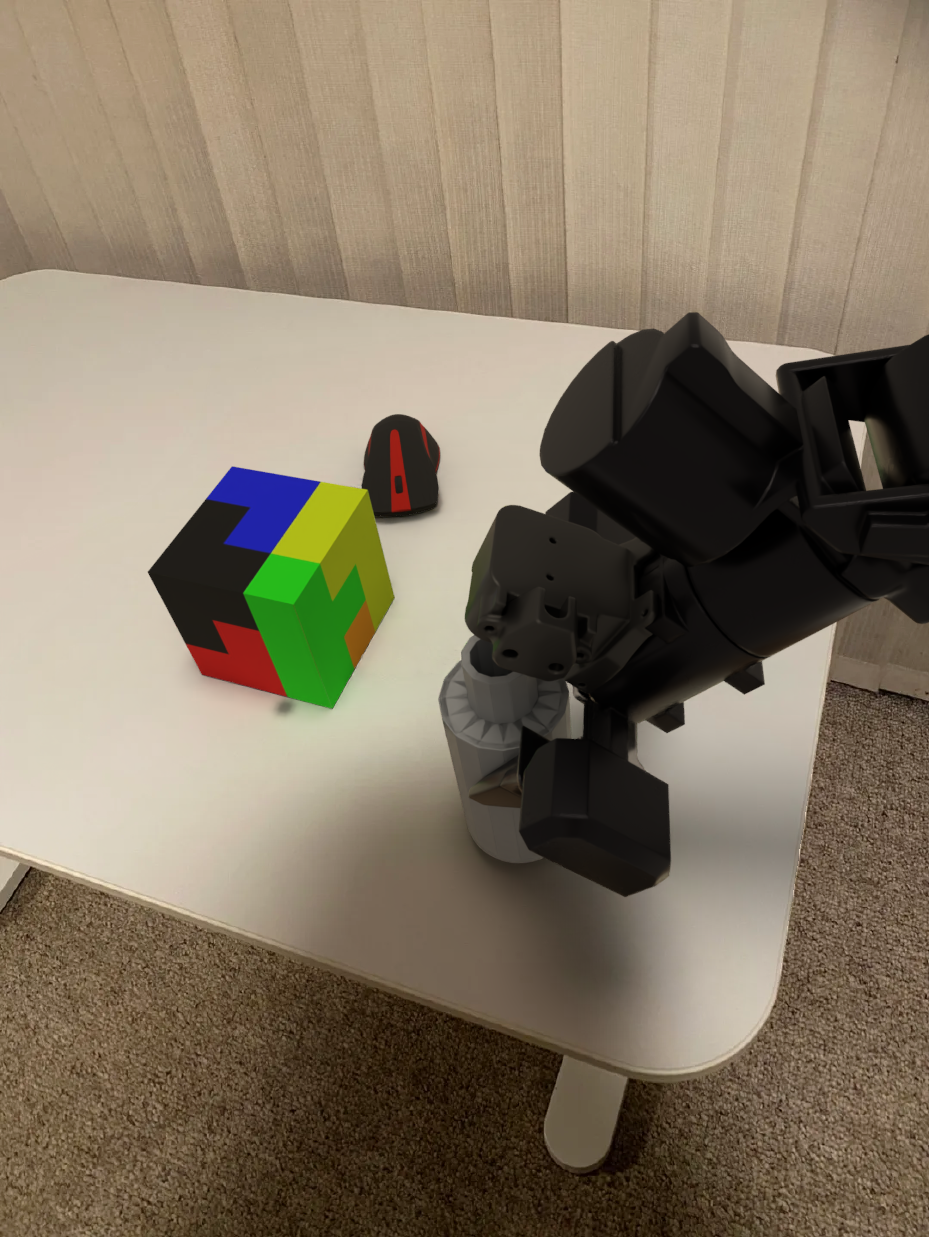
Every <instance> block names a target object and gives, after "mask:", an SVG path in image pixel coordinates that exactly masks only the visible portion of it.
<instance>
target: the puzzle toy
mask: <svg viewBox="0 0 929 1237" xmlns="http://www.w3.org/2000/svg"><path fill="white" fill-rule="evenodd" d="M387 565H388V564H387V562H386V557H385V553H384V549H383V544H382V542H381V537H380V533H379V530H378V526H377V521H376V516H374V513H373V509H372V505H371V501H370V497H369V493H368V490H366V489H362V487H360V488H359V487H355V486H348V485H343V484H337V483H331V482H326V481H320V480H314V479H307V478H301V477H296V476H291V475H284V474H280V473H274V472H268V471H261V470H256V469H250V468H245V467H238V466H232V465H231V467H230V468H229V469H228V470H227V471H226V473H225V474H224V475H223V477H222V478H221V479H220V480H219V482H218V483H217V484H216V485H215V487H214V488H213V490H211V492H210V493H209V494H208V495H207V497H206V498H205V499H204V500H203V502H202V503H201V504H200V506H198V508H197V509H196V510H195V512H194V513H193V514H192V516H191V517H190V518H189V519H188V521H187V522H186V523H185V524H184V526H183V527H182V528H181V529H180V530H179V532H178V533H177V534H176V536H175V537H174V538H173V539H172V541H170V543H169V544H168V546H167V547H166V548H165V549H164V551H163V552H161V554H160V556H159V557H158V558H157V559H156V560H155V562H154V563H153V565H151V566H150V568H149V569H148V571H147V574H148V576H149V577H150V580H151V582H152V584H153V586H154V588H155V589H156V591H157V593H158V595H159V597H160V599H161V600H162V602H163V604H164V607H165V608H166V610H167V612H168V614H169V616H170V618H171V619H172V622H173V623H174V625H175V627H176V629H177V631H178V632H179V634H180V636H181V638H182V640H183V642H184V644H185V646H186V648H187V649H188V652H189V653H190V655H191V657H192V659H193V661H194V662H195V665H196V666H197V668H198V670H199V672H200V674H201V676H205V677H209V678H212V679H216V680H219V681H224V682H228V683H232V684H234V685H235V684H236V685H240V686H243V687H247V688H251V689H254V690H259V691H263V692H267V693H271V694H274V695H278V696H282V697H286V698H289V699H294V700H298V701H301V702H304V703H309V704H312V705H315V706H316V705H317V706H320V707H323V708H328V709H332V710H333V709H334V707H335V705H336V703H337V701H338V700H339V698H340V696H341V694H342V692H343V691H344V689H345V687H346V686H347V684H348V682H349V680H350V678H351V676H352V675H353V673H354V672H355V669H356V668H357V666H358V664H359V662H360V660H361V659H362V656H364V653H365V652H366V650H367V648H368V646H369V644H370V643H371V641H372V639H373V637H374V636H375V634H376V632H377V630H378V628H379V626H380V625H381V623H382V621H383V619H384V618H385V615H386V614H387V612H388V610H389V608H390V607H391V605H392V603H393V602H394V600H395V598H396V597H395V593H394V589H393V585H392V581H391V577H390V575H389V570H388V566H387Z"/></svg>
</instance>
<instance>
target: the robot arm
mask: <svg viewBox="0 0 929 1237" xmlns="http://www.w3.org/2000/svg"><path fill="white" fill-rule="evenodd" d="M775 379H776V385H777V386H776V387H777V390H776V389H774V387H773V386H772V385H770V383H768V382H767V381H766V380H764V378H762V377H761V376H760V375H759V374H758V373H757V372H756V371H754V369H752V368H751V367H750V366H748V364H747V363H746V362H745V361H743V360H742V359H741V358H740V357H739V356H738V355H737V354H736V353H735V352H734V351H733V349H732V348H731V347H730V345H729V343H728V342H727V340H726V339H725V336H724V335H723V334H722V333H721V331H719V330H718V329H717V327H715V326H714V325H713V324H712V323H710V322H709V321H708V320H707V319H706V318H705V317H704V316H703V315H701V313H699V312H698V311H692V312H687V313H686V314H685V315H683V316H682V317H681V318H680V319H679V320H677V321H676V323H674V324H673V325H672V326H671V327H670V328H669V329H667V330H666V331H665V332H663V330H659V329H657V328H644V329H641V330H638V331H636V332H633V333H631V334H629V335H628V336H626V337H624V338H622V339H621V340H619V341H617V342H616V341H614V340H611V341H609V342H607V343H606V345H604V346H603V347H602V348H601V349H600V350H598V351H597V353H595V354H594V356H592V357H591V358H590V359H589V361H587V363H586V364H585V365H584V366H583V367H582V368H581V369H580V370H579V372H578V373H577V374H576V376H575V377H573V379H572V380H571V382H569V385H568V386H567V388H566V389H565V391H564V392H563V394H562V395H561V396H560V398H559V399H558V401H557V403H556V404H555V407H554V408H553V410H552V412H551V414H550V417H549V419H548V421H547V423H546V426H545V428H544V430H543V435H542V438H541V442H540V445H539V455H538V456H539V461H540V466H541V468H542V469H543V470H544V472H545V473H547V474H548V475H550V476H551V477H552V478H554V479H555V480H557V481H558V482H559V483H561V484H562V485H563V486H565V487H566V488H568V489H569V490H570V492H569V493H567V494H566V495H565V496H563V497H562V498H561V499H560V500H558V501H557V502H555V504H553V505H552V506H551V507H550V508H548V509H547V510H546V511H545V513H543V512H540V511H537V510H534V509H531V508H528V507H526V506H521V505H518V504H508V505H505V506H503V507H501V508H500V509H499V510H498V512H497V513H496V515H495V517H494V518H493V521H492V523H491V525H490V527H489V529H488V531H487V533H486V535H485V537H484V539H483V541H482V543H481V545H480V547H479V549H478V551H477V554H476V555H475V558H474V559H473V561H472V565H471V578H470V584H469V591H468V598H467V602H466V606H465V610H464V622H465V625H466V627H467V629H468V630H469V631H470V633H471V634H472V635H473V636H474V635H475V636H476V637H478V638H480V639H482V640H484V641H487V642H490V643H493V655H492V658H493V660H494V661H495V662H496V664H497V665H498V666H499V667H501V668H503V669H507V670H510V671H514V672H517V673H520V674H524V675H527V676H530V677H534V678H537V679H541V680H544V681H549V682H550V681H555V680H560V679H562V678H564V681H566V683H567V684H569V685H571V686H572V695H573V698H575V699H576V701H578V702H580V703H581V704H582V705H583V718H582V719H583V722H582V735H581V736H578V737H577V738H572V739H570V738H555V739H554V740H552V741H550V740H549V739H547V738H545V737H543V736H542V735H540V734H538V733H536V732H534V731H533V730H531V729H529V728H527V727H525V726H522V727H521V734H520V746H519V755H517V756H516V757H514V758H513V759H511V760H509V761H508V762H506V763H505V764H503V765H502V766H500V767H499V768H497V769H496V770H494V771H492V772H491V773H489V774H488V775H486V776H485V777H483V778H482V779H481V780H480V781H478V782H477V783H476V784H475V785H474V786H473V787H472V788H470V790H469V798H470V799H472V800H474V801H476V802H478V803H480V804H482V805H487V806H498V807H510V808H521V809H520V821H519V833H520V835H521V836H522V838H523V840H524V842H525V844H526V846H527V848H528V850H530V851H532V852H534V853H536V854H538V855H540V856H542V857H544V858H543V859H545V860H548V861H550V862H552V863H554V864H556V865H558V866H560V867H562V868H564V869H566V870H569V871H570V872H572V873H575V874H577V875H579V876H581V877H583V878H585V879H586V880H588V881H591V882H593V883H595V884H597V885H599V886H601V887H603V888H605V889H606V890H607V889H608V890H610V891H612V892H613V893H616V894H618V895H619V896H622V897H624V898H627V897H630V896H632V895H635V894H638V893H641V892H643V891H646V890H649V889H652V888H654V887H657V886H658V885H659V884H661V883H662V882H663V881H666V879H667V878H669V877H670V874H671V867H672V866H671V865H672V848H671V824H670V823H671V821H670V820H671V819H670V817H671V816H670V814H671V813H670V788H669V787H670V786H669V783H668V782H665V781H664V780H661V779H660V778H658V777H657V776H655V775H653V774H651V773H650V772H648V771H647V770H646V769H645V767H644V766H643V764H642V763H641V762H640V761H639V759H638V724H641V723H642V722H645V721H646V722H648V723H649V724H651V725H653V726H654V727H655V728H657V729H659V730H661V731H663V732H664V733H665V734H669V733H671V732H673V731H675V730H677V729H679V728H681V727H683V726H685V725H686V719H685V718H686V717H685V715H686V714H685V702H686V701H688V700H690V699H692V698H694V697H696V696H698V695H700V694H702V693H703V692H706V691H708V690H709V689H711V688H713V687H715V686H717V685H719V684H721V683H723V682H725V683H726V684H727V685H728V686H731V687H732V688H734V689H735V690H736V691H738V692H739V693H741V694H743V695H747V694H749V693H751V692H753V691H754V690H757V689H759V688H760V687H762V686H765V685H766V683H765V675H764V666H763V661H765V660H767V659H768V658H771V657H772V656H774V655H776V654H779V653H780V652H782V651H784V650H785V649H787V648H790V647H791V646H795V645H796V644H798V643H800V642H802V641H803V640H805V639H807V638H809V637H811V636H813V635H815V634H817V633H818V632H820V631H822V630H824V629H826V628H828V627H830V626H831V625H834V624H836V623H837V622H840V621H841V620H844V619H845V618H847V617H849V616H851V615H853V614H855V613H857V612H858V611H861V610H863V609H864V608H866V607H868V606H870V605H872V604H874V603H876V602H877V601H880V600H881V599H885V600H887V601H888V602H890V603H891V604H892V605H893V606H894V607H896V608H897V609H898V610H899V611H901V612H902V613H903V615H906V616H907V617H908V618H909V619H910V620H912V621H913V622H914V623H916V624H918V625H926V624H929V333H928V334H926V335H924V336H922V337H920V338H918V339H917V340H915V341H914V342H913V343H911V344H905V345H904V344H903V345H899V346H891V347H884V348H879V349H872V350H871V349H870V350H863V351H857V352H851V353H845V354H838V355H830V356H824V357H817V358H811V359H805V360H797V361H790V362H786V363H783V364H781V365H780V366H778V368H777V369H776V370H775ZM850 421H851V422H852V421H853V422H859V423H864V424H865V428H866V432H867V435H868V436H867V437H868V439H869V443H870V447H871V450H872V454H873V458H874V461H875V465H876V469H877V473H878V476H879V480H880V483H881V487H882V488H878V489H870V490H867V488H866V484H865V480H864V476H863V472H862V467H861V464H860V459H859V456H858V452H857V448H856V445H855V440H854V436H853V432H852V429H851V424H850Z"/></svg>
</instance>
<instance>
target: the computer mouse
mask: <svg viewBox="0 0 929 1237" xmlns="http://www.w3.org/2000/svg"><path fill="white" fill-rule="evenodd" d="M440 461H441V448H440V445H439V444H438V441H437V440H436V439H435V438H434V437H433V435H432V434H431V433H430V431H429V430H428V429H427V428H426V427H425V426H424V425H423V423H422V422H421V421H420V420H418V419H417V418H415V417H412V416H410V415H406V414H403V413H402V414H400V413H395V414H391V415H388V416H386V417H384V418H382V419H381V420H380V421H378V422H377V423H376V424H375V425H373V428H372V429H371V433H370V436H369V438H368V441H367V443H366V447H365V450H364V455H363V469H364V472H363V475H362V482H361V489H366V490H368V493H369V497H370V501H371V505H372V509H373V513H374V517H377V518H379V517H380V518H398V517H406V516H412V515H417V514H420V513H424V512H427V511H431V510H434V509H435V508H436V507H437V505H438V501H439V492H440V486H439V480H438V474H437V472H438V468H439V466H440V465H439V464H440Z"/></svg>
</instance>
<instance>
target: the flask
mask: <svg viewBox="0 0 929 1237" xmlns="http://www.w3.org/2000/svg"><path fill="white" fill-rule="evenodd" d="M492 655H493V643H490V642H487V641H484V640H482V639H480V638H478V637H476V636H475V635H474V634H473V635H471V636H470V637H469V638H468V640H467V641H466V643H465V645H464V646H463V648H462V649H461V651H460V660H459V661H458V662H457V663H456V664H455V665H454V666H453V667H452V668H451V670H450V671H449V672H448V673H447V675H446V676H445V677H444V679H443V681H442V684H441V688H440V691H439V695H438V706H439V710H440V716H441V721H442V725H443V730H444V734H445V738H446V742H447V746H448V747H447V748H448V751H449V754H450V759H451V763H452V768H453V772H454V777H455V781H456V784H457V790H458V792H459V797H460V802H461V807H462V810H463V814H464V819H465V822H466V828H467V829H468V832H469V834H470V836H471V838H472V840H473V841H474V843H475V844H476V845H477V846H478V847H479V848H480V850H482V851H483V852H484V853H486V854H487V855H489V856H490V857H492V858H494V859H496V860H499V861H502V862H506V863H511V864H527V863H532V862H533V863H534V862H537V861H540V860H542V859H545V858H544V857H542V856H540V855H538V854H536V853H534V852H532V851H530V850H528V848H527V846H526V844H525V842H524V840H523V838H522V836H521V835H520V833H519V821H520V809H521V808H510V807H498V806H487V805H482V804H480V803H478V802H476V801H474V800H472V799H470V798H469V790H470V788H472V787H473V786H474V785H475V784H476V783H477V782H478V781H480V780H481V779H482V778H483V777H485V776H486V775H488V774H489V773H491V772H492V771H494V770H496V769H497V768H499V767H500V766H502V765H503V764H505V763H506V762H508V761H509V760H511V759H513V758H514V757H516V756H517V755H519V746H520V734H521V727H522V726H525V727H527V728H529V729H531V730H533V731H534V732H536V733H538V734H540V735H542V736H543V737H545V738H547V739H549V740H550V741H552V740H554V739H555V738H570V739H573V738H572V736H573V735H572V721H571V718H572V717H571V704H570V703H571V702H570V690H569V687H568V682H566V681H564V678H562V679H560V680H555V681H550V682H549V681H544V680H541V679H537V678H534V677H530V676H527V675H524V674H520V673H517V672H514V671H510V670H507V669H503V668H501V667H499V666H498V665H497V664H496V662H495V661H494V660H493V658H492Z"/></svg>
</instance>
